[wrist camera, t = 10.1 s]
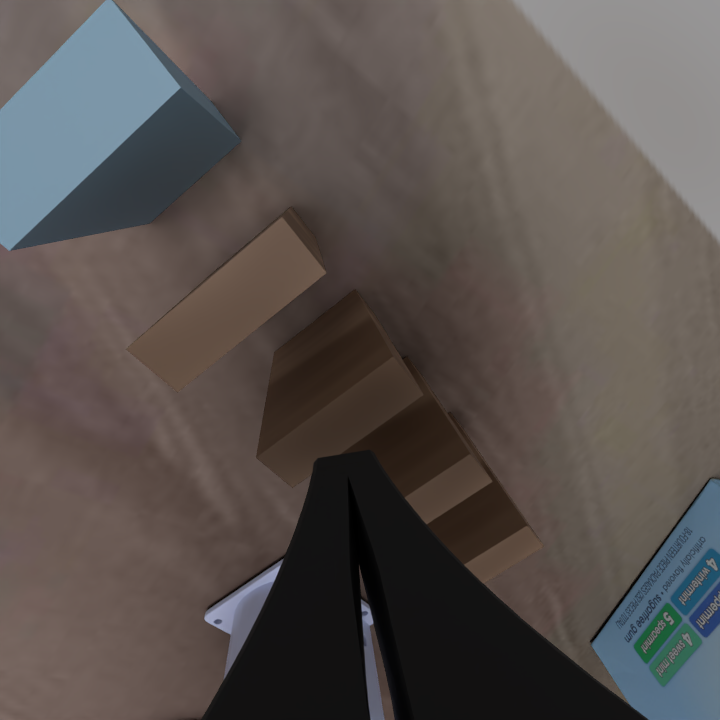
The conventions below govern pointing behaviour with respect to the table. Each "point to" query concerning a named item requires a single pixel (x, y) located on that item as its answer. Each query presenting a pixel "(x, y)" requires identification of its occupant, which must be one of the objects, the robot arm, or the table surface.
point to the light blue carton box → (672, 623)
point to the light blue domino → (102, 136)
